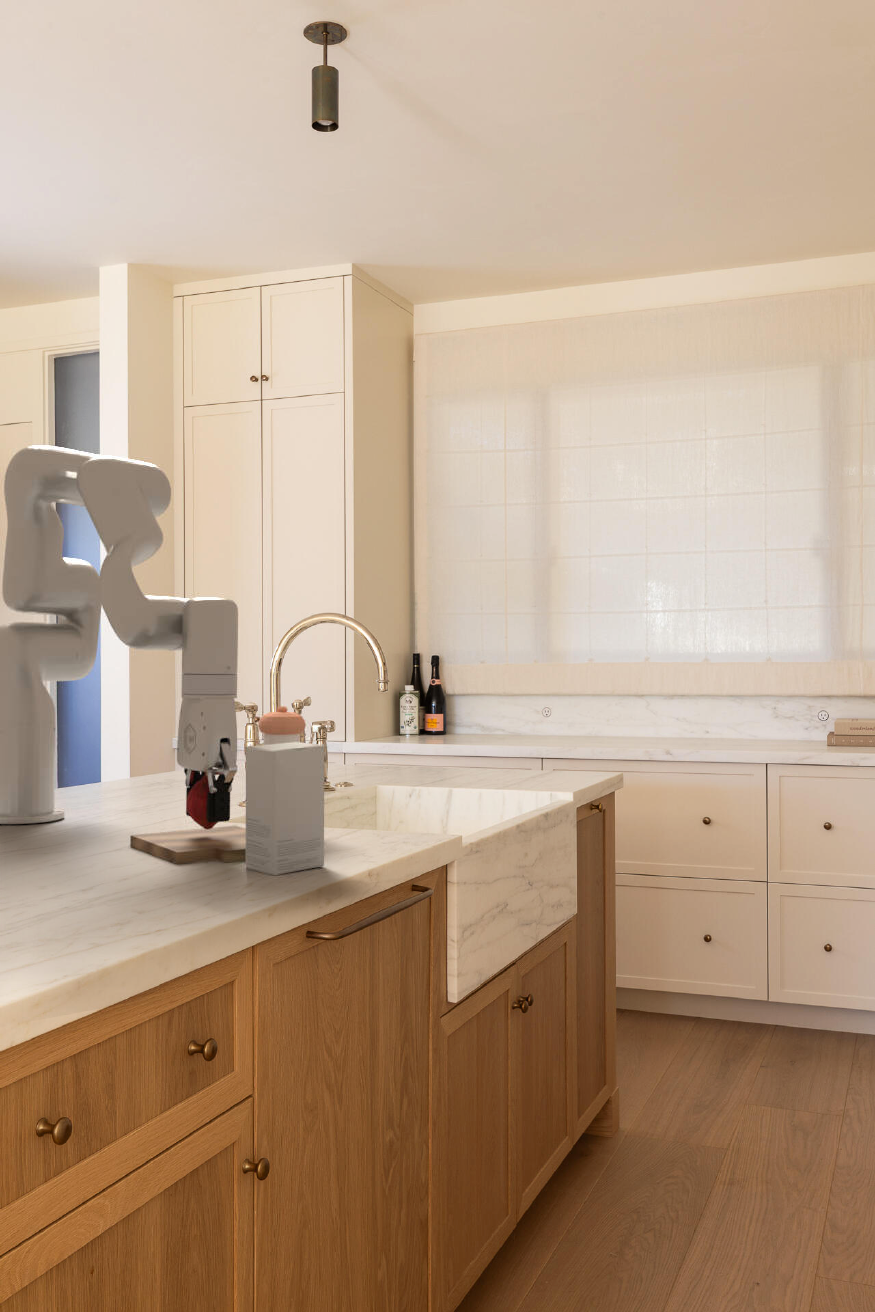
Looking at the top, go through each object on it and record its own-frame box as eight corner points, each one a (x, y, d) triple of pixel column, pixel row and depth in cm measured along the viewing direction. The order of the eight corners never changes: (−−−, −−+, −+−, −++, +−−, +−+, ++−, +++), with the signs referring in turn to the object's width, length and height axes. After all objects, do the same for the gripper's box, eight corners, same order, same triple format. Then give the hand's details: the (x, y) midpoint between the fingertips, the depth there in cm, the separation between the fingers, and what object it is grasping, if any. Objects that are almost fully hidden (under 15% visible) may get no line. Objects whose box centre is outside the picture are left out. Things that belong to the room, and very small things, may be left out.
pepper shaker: (300, 830, 168) (301, 705, 168) (309, 837, 161) (311, 707, 161) (252, 832, 166) (253, 705, 166) (260, 839, 159) (261, 707, 159)
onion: (218, 833, 148) (219, 774, 148) (179, 831, 149) (179, 773, 149) (235, 827, 154) (235, 770, 154) (196, 825, 155) (197, 768, 155)
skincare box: (295, 860, 143) (297, 741, 143) (327, 868, 139) (328, 744, 139) (242, 869, 137) (243, 744, 138) (273, 876, 133) (274, 748, 133)
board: (130, 846, 153) (130, 835, 153) (235, 835, 162) (235, 825, 162) (185, 867, 138) (185, 855, 138) (296, 854, 148) (297, 843, 148)
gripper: (158, 685, 156) (157, 812, 156) (211, 689, 142) (209, 829, 142) (207, 685, 161) (206, 808, 161) (263, 689, 147) (261, 824, 147)
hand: (207, 817), depth 151 cm, fingers closed on onion, 5 cm apart
